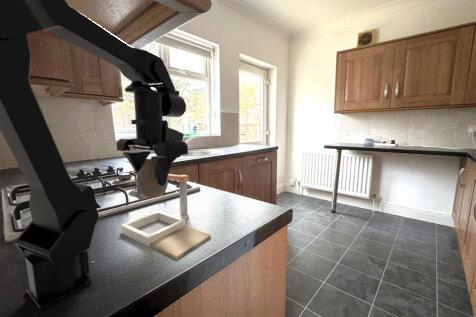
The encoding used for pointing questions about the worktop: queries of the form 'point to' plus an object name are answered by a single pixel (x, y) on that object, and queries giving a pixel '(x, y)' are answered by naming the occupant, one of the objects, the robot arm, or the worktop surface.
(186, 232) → the mat
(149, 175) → the vase
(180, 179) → the orange flat bar
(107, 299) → the worktop surface
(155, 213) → the socket
